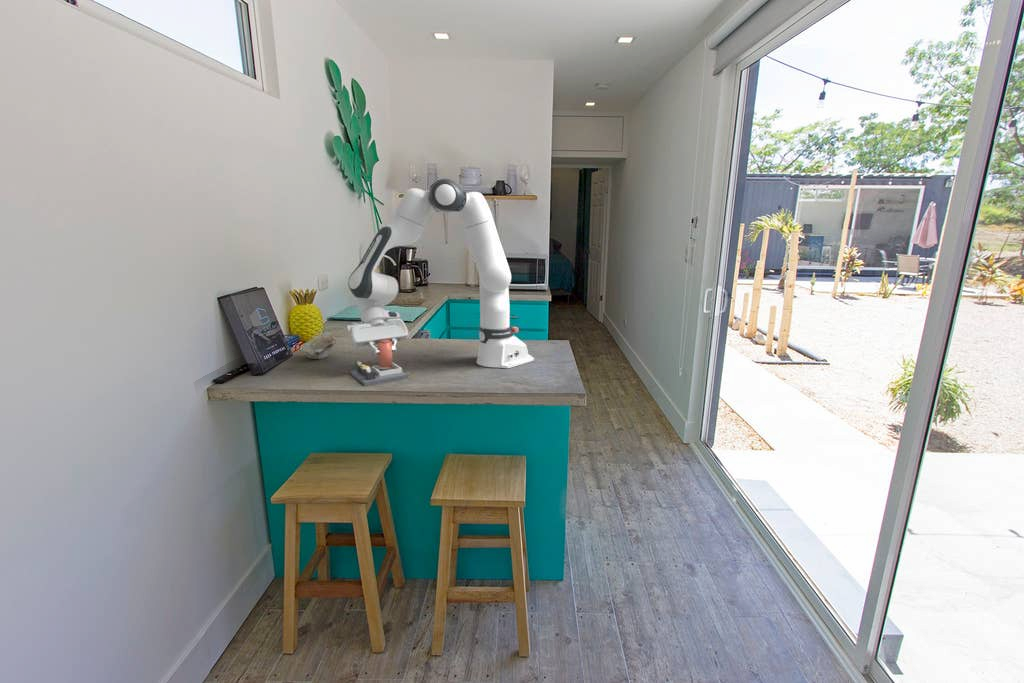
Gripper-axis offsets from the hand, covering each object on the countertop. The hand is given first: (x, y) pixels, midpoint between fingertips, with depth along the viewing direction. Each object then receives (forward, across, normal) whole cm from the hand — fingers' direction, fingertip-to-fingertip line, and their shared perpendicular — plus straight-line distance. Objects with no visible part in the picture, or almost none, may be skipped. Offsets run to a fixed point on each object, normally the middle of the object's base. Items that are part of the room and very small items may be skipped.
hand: (386, 352), depth 176 cm
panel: (+5, -3, +6) cm, 9 cm away
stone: (-18, -15, +30) cm, 38 cm away
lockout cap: (+3, 0, +4) cm, 5 cm away
